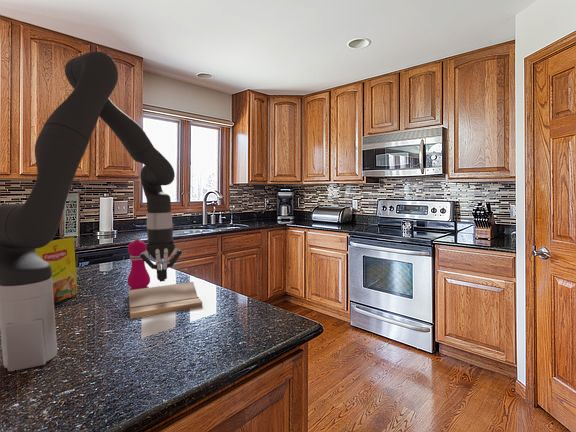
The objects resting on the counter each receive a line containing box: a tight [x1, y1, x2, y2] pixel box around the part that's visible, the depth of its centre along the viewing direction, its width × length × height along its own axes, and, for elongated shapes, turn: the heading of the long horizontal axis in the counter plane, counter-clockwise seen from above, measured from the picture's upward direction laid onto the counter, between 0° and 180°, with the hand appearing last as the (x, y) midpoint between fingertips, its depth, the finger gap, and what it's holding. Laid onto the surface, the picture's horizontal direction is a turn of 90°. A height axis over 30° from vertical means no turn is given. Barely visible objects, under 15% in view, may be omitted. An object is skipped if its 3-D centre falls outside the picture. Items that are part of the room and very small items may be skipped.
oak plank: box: [129, 296, 203, 320], centre depth 102 cm, size 5×20×2 cm, turn 118°
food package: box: [35, 236, 78, 304], centre depth 110 cm, size 15×1×20 cm, turn 168°
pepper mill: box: [126, 235, 151, 290], centre depth 118 cm, size 7×7×20 cm
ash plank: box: [128, 281, 199, 307], centre depth 107 cm, size 7×20×2 cm
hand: (162, 280), depth 109 cm, fingers closed
